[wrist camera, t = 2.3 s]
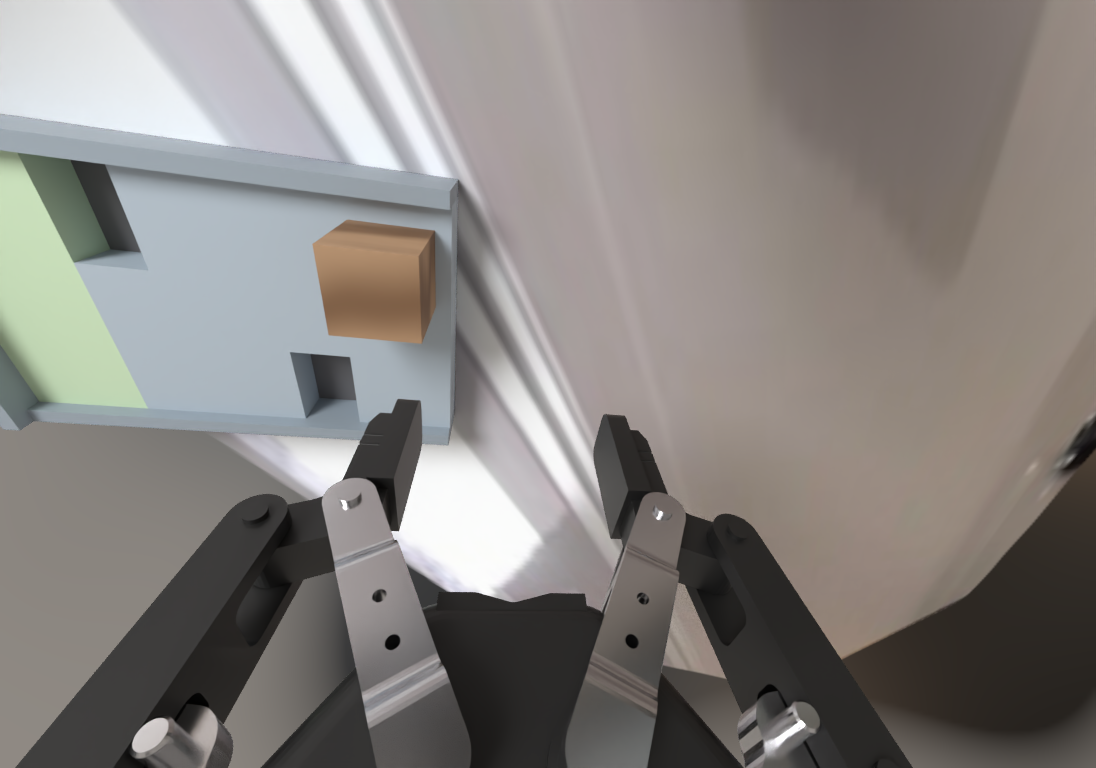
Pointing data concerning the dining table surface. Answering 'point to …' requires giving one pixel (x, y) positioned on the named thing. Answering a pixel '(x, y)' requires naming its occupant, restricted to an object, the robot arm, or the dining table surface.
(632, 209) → the dining table surface
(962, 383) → the dining table surface
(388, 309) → the block
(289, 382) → the tray
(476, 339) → the dining table surface
